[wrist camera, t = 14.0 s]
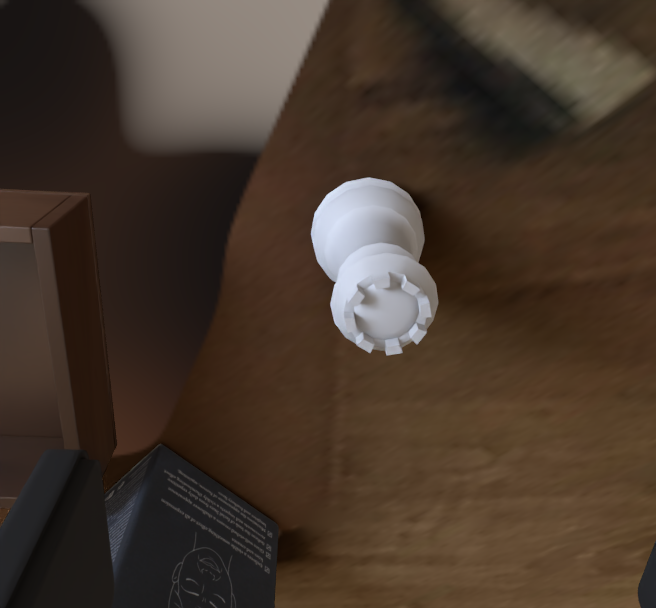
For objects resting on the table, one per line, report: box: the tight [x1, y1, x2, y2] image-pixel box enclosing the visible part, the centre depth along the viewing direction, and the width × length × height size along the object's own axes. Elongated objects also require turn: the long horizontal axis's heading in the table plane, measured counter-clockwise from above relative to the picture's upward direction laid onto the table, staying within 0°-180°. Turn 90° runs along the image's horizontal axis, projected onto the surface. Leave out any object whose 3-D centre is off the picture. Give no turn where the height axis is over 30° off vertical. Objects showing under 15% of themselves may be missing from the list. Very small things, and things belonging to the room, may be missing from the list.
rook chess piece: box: [311, 177, 438, 356], centre depth 22 cm, size 4×4×8 cm
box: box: [104, 444, 279, 608], centre depth 27 cm, size 8×6×11 cm
